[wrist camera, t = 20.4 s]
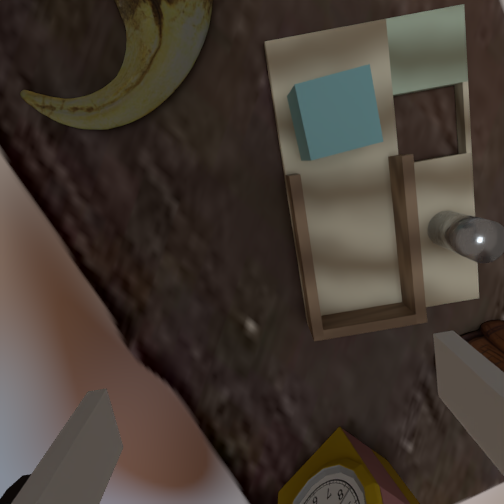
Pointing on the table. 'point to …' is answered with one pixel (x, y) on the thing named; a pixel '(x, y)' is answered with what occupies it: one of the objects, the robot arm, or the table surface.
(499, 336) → the wooden figurine
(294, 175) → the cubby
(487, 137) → the table surface
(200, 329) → the table surface
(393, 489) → the alarm clock
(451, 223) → the grey knob
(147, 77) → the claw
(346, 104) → the block
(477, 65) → the table surface
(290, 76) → the board
